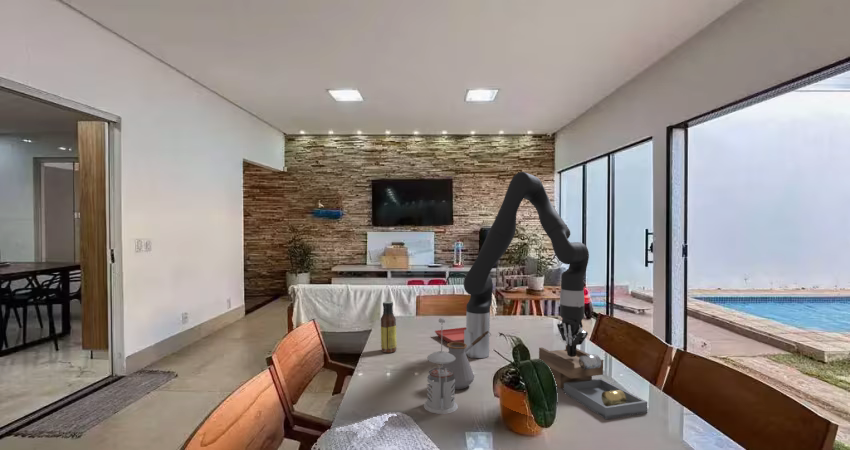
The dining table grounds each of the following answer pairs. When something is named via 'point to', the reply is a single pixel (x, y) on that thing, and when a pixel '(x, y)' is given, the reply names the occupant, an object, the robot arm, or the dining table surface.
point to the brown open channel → (567, 366)
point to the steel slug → (589, 361)
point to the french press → (441, 383)
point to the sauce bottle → (388, 328)
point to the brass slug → (613, 398)
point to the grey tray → (592, 398)
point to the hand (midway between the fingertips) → (571, 356)
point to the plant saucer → (452, 335)
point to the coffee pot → (461, 363)
